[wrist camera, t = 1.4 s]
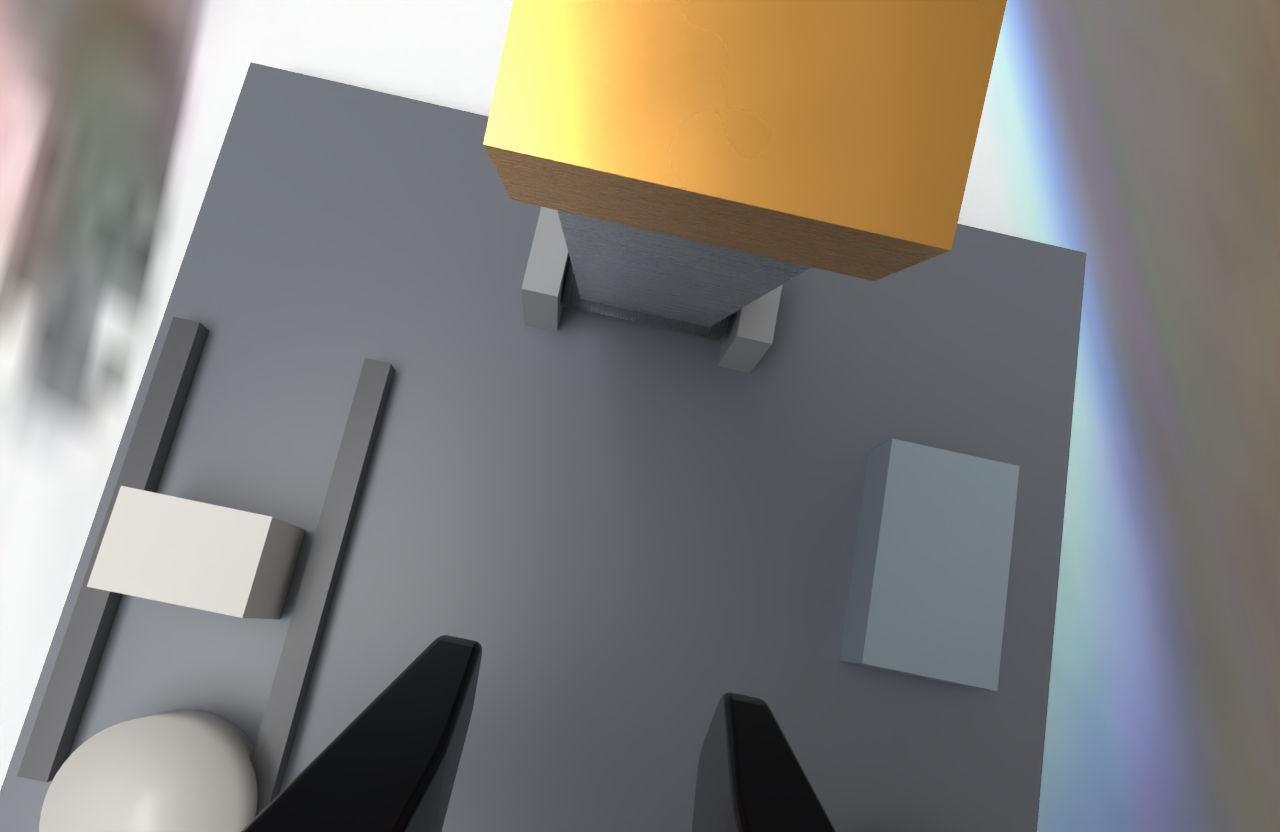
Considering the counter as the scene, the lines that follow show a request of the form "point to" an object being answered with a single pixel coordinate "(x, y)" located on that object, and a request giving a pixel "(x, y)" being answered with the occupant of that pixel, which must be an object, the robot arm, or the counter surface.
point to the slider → (197, 555)
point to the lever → (739, 142)
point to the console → (568, 508)
